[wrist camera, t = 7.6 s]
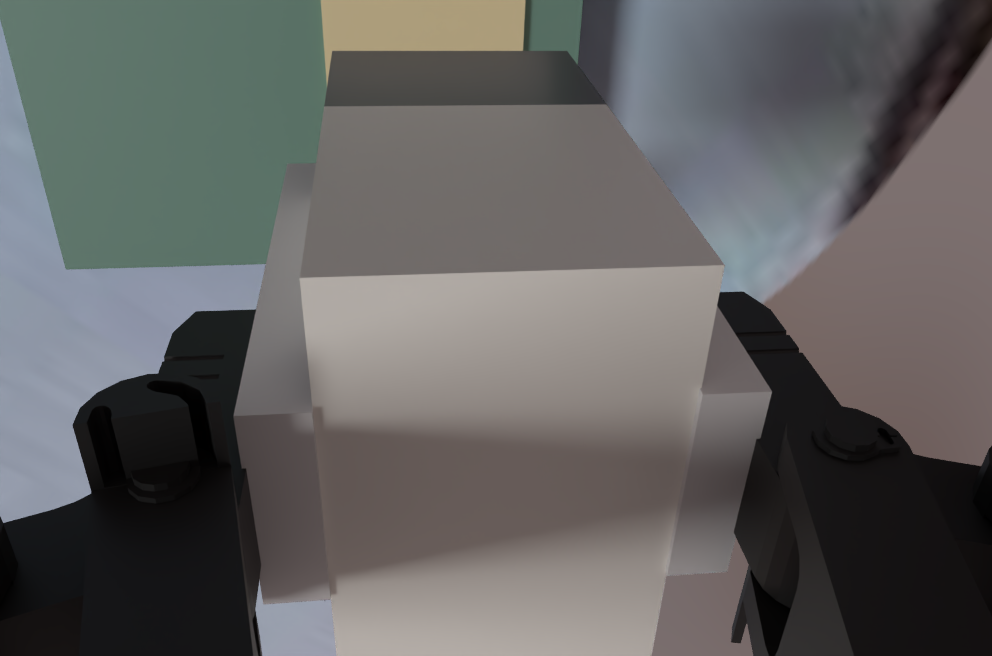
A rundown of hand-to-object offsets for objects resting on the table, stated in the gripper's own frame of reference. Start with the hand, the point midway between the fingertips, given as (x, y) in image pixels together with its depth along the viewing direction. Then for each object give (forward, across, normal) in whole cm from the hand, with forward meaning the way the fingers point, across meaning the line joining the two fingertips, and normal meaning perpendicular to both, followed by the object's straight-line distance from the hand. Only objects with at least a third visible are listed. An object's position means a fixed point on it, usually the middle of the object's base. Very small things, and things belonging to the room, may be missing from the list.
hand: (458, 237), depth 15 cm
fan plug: (+2, 0, 0) cm, 2 cm away
